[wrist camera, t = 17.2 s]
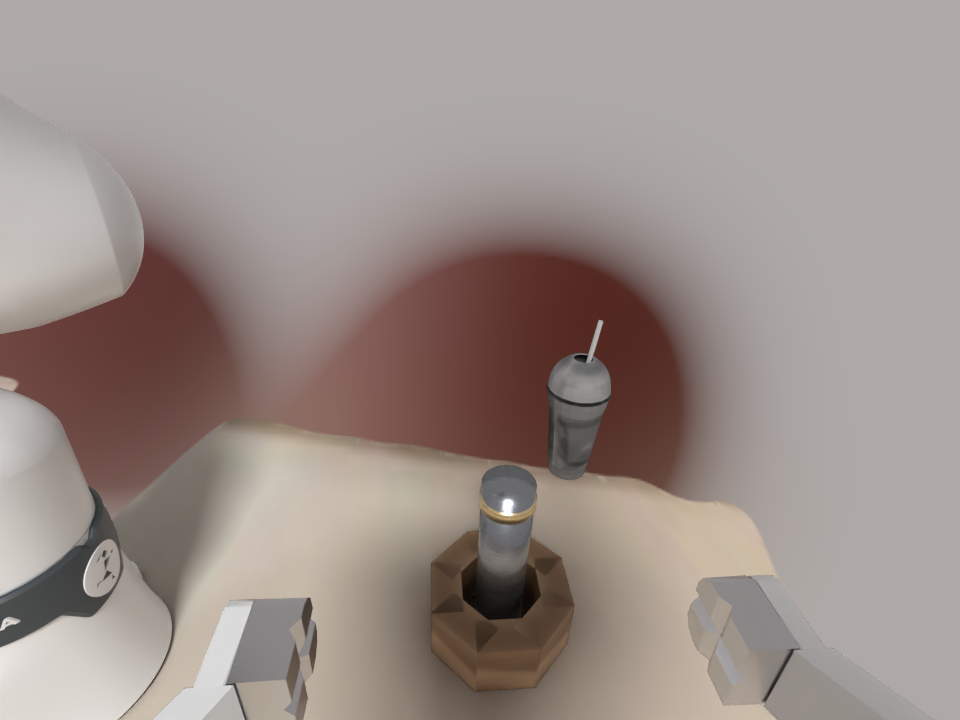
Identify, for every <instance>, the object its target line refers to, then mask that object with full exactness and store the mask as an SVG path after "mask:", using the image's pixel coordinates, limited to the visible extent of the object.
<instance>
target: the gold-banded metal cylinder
mask: <svg viewBox="0 0 960 720" xmlns="http://www.w3.org/2000/svg"><path fill="white" fill-rule="evenodd" d="M536 489H537V484H536V480H535V478H534V477H533V476H532V475H531V474H530V473H529V472H528V471H526V470H525V469H523V468H520V467H517V466H512V465H501V466H497V467H494V468H492V469H490V470H488V471H487V472H486V473H485V474H484V476H483V478H482V486H481V489H480V500H479V505H480V524H479V542H478V560H477V578H476V596H475V610H476V611H478V612H479V613H480V614H481V615H483V616H484V617H485V618H486V619H488V620H499V619H518V618H521V610H522V602H523V594H524V586H525V577H526V569H527V561H528V553H529V545H530V537H531V529H532V521H533V514H534V512H535V508H536V500H537V494H536Z"/></svg>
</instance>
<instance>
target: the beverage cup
mask: <svg viewBox="0 0 960 720" xmlns="http://www.w3.org/2000/svg"><path fill="white" fill-rule="evenodd" d="M602 324H603V321H601V320H599V321H598V324H597V328H596V331H595V335H594V338H593V341H592V344H591V348H590V351H589V354H583V353H577V354H572V355H569V356H567V357H565V358H563V359H562V360H561V361H559V362H558V363H557V365H556V366H555V367H554V368H553V370H552V372H551V374H550V379H549V380H548V383H547V389H548V401H549V438H548V459H549V460H548V461H549V464H548V466H549V470H550V471H551V472H552V474H554V475H555V476H557V477H559V478H562V479H566V480H574V479H578V478H580V477H581V476H582V475H583V474H584V472H585V468H586V466H587V463H588V460H589V457H590V454H591V451H592V447H593V444H594V441H595V437H596V434H597V430H598V427H599V423H600V420H601V417H602V413H603V412H604V410H605V408H606V406H607V404H608V400H609V399H610V397H611V381H610V376H609V373H608V371H607V369H606V368H605V366H604V365H603V363H601V362H600V361H599V360H598V359H597V358H595V357H593V354H594V351H595V347H596V344H597V341H598V337H599V334H600V331H601V328H602Z"/></svg>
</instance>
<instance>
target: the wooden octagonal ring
mask: <svg viewBox="0 0 960 720" xmlns="http://www.w3.org/2000/svg"><path fill="white" fill-rule="evenodd" d="M478 542H479V531H470V532H467V533H465V534H464V535H463V536H462V537H461V538H460V539H459V540H457V541H456V542H455V543H454V544H453V545H452V546H450V547H449V548H448V549H447V550H446V551H445V552H444V553H442V554H441V555H440V556H439V557H438V558H437V559H435V560H434V561H433V562H432V563H431V601H432V612H431V651H432V652H433V653H434V654H435V655H436V656H437V657H438V658H439V659H440V660H441V661H443V662H444V663H445V664H446V665H447V666H448V667H449V668H450V669H451V670H452V671H454V672H455V673H456V674H457V675H458V676H459V677H460V678H461V679H462V680H463V681H464V682H466V683H467V684H468V685H469V686H470V687H471V688H472V689H473V690H474V691H475V692H476V691H486V690H501V689H517V688H532V687H534V688H535V687H536V685H537V684H538V682H539V681H540V680H541V678H542V677H543V676H544V674H545V673H546V671H547V670H548V669H549V667H550V666H551V665H552V663H553V662H554V660H555V659H556V658H557V656H558V655H559V654H560V652H561V651H562V649H563V648H564V647H565V645H566V644H567V640H568V635H569V630H570V625H571V620H572V616H573V611H574V603H573V599H572V596H571V592H570V588H569V585H568V581H567V577H566V574H565V570H564V566H563V563H562V559H561V557H559V556H558V555H556V554H555V553H553V552H552V551H550V550H549V549H547V548H546V547H544V546H542V545H541V544H539V543H538V542H536V541H535V540H533V539H532V538H530V545H529V553H528V561H527V569H526V577H525V586H524V594H523V601H524V602H525V603H527V604H528V605H529V606H530V610H529V611H528V612H527V613H526V614H525V615H524V617H523V618H518V619H499V620H488V619H486V618H485V617H484V616H483V615H481V614H480V613H479V612H478V611H476V610H475V609H474V608H473V607H471V606H470V605H469V604H468V603H467V602H468V601H469V600H470V599H471V598H472V597H473V596H474V595H475V594H476V578H477V560H478Z"/></svg>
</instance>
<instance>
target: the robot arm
mask: <svg viewBox="0 0 960 720" xmlns="http://www.w3.org/2000/svg"><path fill="white" fill-rule="evenodd" d="M143 248H144V232H143V225H142V220H141V216H140V213H139V210H138V207H137V205H136V203H135V200H134V198H133V196H132V194H131V192H130V191H129V189H128V187H127V185H126V184H125V182H124V181H123V180H122V178H121V177H120V176H119V174H118V173H117V172H116V170H114V168H113V167H112V166H111V165H110V164H109V163H108V162H107V161H106V160H105V159H104V158H103V157H102V156H101V155H100V154H99V153H97V152H96V151H95V150H94V149H93V148H91V147H90V146H89V145H87V144H86V143H85V142H84V141H82V140H80V139H79V138H77V137H76V136H74V135H73V134H71V133H70V132H68V131H65V130H63V129H61V128H59V127H57V126H55V125H53V124H51V123H49V122H47V121H45V120H43V119H41V118H39V117H38V116H36V115H34V114H33V113H31V112H29V111H28V110H26V109H24V108H23V107H21V106H19V105H18V104H16V103H15V102H13V101H12V100H10V99H9V98H7V97H6V96H4V95H3V94H1V93H0V334H2V333H8V332H13V331H18V330H23V329H28V328H33V327H38V326H41V325H44V324H47V323H50V322H53V321H56V320H59V319H61V318H64V317H67V316H70V315H73V314H76V313H78V312H81V311H84V310H87V309H89V308H91V307H94V306H97V305H100V304H102V303H105V302H107V301H110V300H113V299H115V298H118V297H120V296H122V295H124V293H125V292H126V291H127V290H128V288H129V287H130V285H131V284H132V282H133V280H134V278H135V277H136V274H137V272H138V270H139V267H140V264H141V260H142V256H143ZM106 509H107V508H106V506H105V504H104V502H103V501H102V500H101V498H100V496H99V494H98V493H97V492H96V491H95V490H94V489H92V488H91V487H89V486H88V485H87V483H86V481H85V478H84V476H83V473H82V471H81V469H80V466H79V464H78V462H77V459H76V457H75V455H74V452H73V450H72V448H71V446H70V443H69V442H68V439H67V436H66V434H65V432H64V429H63V427H62V425H61V423H60V421H59V420H58V418H57V417H56V416H55V415H54V414H52V412H51V411H49V410H48V409H47V408H45V407H44V406H43V405H41V404H39V403H38V402H36V401H34V400H32V399H30V398H28V397H25V396H23V395H21V394H18V393H15V392H13V391H10V390H6V389H3V388H0V720H118V719H119V718H120V717H121V716H122V715H123V714H124V713H125V712H126V711H127V710H128V709H129V708H130V707H131V706H132V705H133V704H134V703H135V702H136V701H137V700H138V698H139V697H140V696H141V695H142V694H143V692H144V691H145V690H146V689H147V687H148V686H149V685H150V683H151V682H152V680H153V679H154V677H155V676H156V674H157V672H158V671H159V669H160V667H161V665H162V663H163V661H164V659H165V656H166V654H167V651H168V648H169V645H170V641H171V635H172V620H171V616H170V613H169V610H168V608H167V606H166V605H165V603H164V602H163V601H162V600H161V599H160V598H159V597H158V596H157V595H156V594H155V593H154V592H153V591H152V590H151V589H150V588H149V587H148V586H147V584H146V583H145V582H144V580H143V578H142V574H141V572H140V570H139V568H138V567H137V565H136V564H135V563H134V562H133V561H131V560H128V558H127V557H126V555H125V554H124V552H123V551H122V549H121V548H120V544H119V540H118V536H117V532H116V529H115V527H114V525H113V522H112V520H111V518H110V516H109V514H108V512H107V510H106ZM696 590H697V592H698V594H699V597H698V598H697V599H696V600H694V601H693V602H692V603H691V605H690V608H689V611H688V624H689V630H690V633H691V637H692V639H693V642H694V644H695V646H696V648H697V650H698V651H699V652H700V653H701V654H703V655H704V656H705V657H706V658H707V659H708V660H709V666H708V671H707V672H708V674H709V676H710V678H711V680H712V682H713V685H714V687H715V689H716V691H717V693H718V695H719V697H720V699H721V701H722V704H723V705H747V704H764V707H765V708H766V709H767V710H768V711H769V712H770V713H771V714H772V715H773V716H774V717H775V718H776V719H777V720H935V719H934V718H932V717H931V716H929V715H928V714H927V713H925V712H924V711H922V710H921V709H919V708H918V707H917V706H915V705H914V704H912V703H911V702H910V701H908V700H907V699H905V698H904V697H902V696H901V695H900V694H898V693H897V692H895V691H894V690H893V689H891V688H890V687H888V686H887V685H885V684H884V683H882V682H881V681H880V680H878V679H877V678H875V677H874V676H873V675H871V674H870V673H868V672H867V671H866V670H864V669H863V668H861V667H860V666H858V665H857V664H855V663H854V662H853V661H851V660H850V659H848V658H847V657H845V656H844V655H843V654H841V653H840V652H839V651H837V650H836V649H834V648H826V647H825V645H824V644H823V642H822V641H821V640H820V638H819V637H818V636H817V634H816V633H815V631H814V630H813V628H812V627H811V626H810V624H809V623H808V621H807V620H806V618H805V617H804V615H803V614H802V613H801V611H800V610H799V608H798V607H797V606H796V604H795V603H794V601H793V600H792V598H791V597H790V596H789V594H788V593H787V591H786V590H785V589H784V587H783V586H782V584H781V583H780V581H779V580H778V579H777V578H775V577H774V576H773V575H757V576H746V575H744V576H729V577H713V578H703V579H702V580H700V581H699V583H698V586H697V588H696ZM312 609H313V607H312V603H311V599H310V598H282V599H246V600H230V601H229V603H228V604H227V605H226V607H225V608H224V610H223V612H222V615H221V617H220V620H219V622H218V625H217V627H216V630H215V633H214V635H213V638H212V640H211V643H210V645H209V648H208V650H207V653H206V655H205V658H204V660H203V663H202V665H201V668H200V670H199V673H198V676H197V678H196V681H195V683H194V686H193V687H189V688H184V689H183V690H182V691H181V692H180V693H179V694H178V695H177V696H176V697H175V698H174V699H173V700H172V701H171V702H170V703H169V704H168V705H167V706H166V707H165V708H164V709H163V710H162V711H160V712H159V713H158V714H157V715H156V716H155V717H154V718H153V719H152V720H303V718H304V713H305V709H306V704H307V699H308V697H307V692H306V687H305V682H306V681H307V679H308V678H309V677H310V676H311V675H312V674H313V669H314V663H315V658H316V647H317V630H316V624H315V622H314V621H312V620H311V619H310V618H311V614H312Z"/></svg>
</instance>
